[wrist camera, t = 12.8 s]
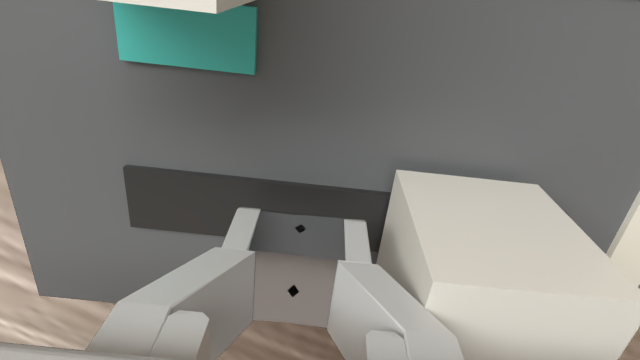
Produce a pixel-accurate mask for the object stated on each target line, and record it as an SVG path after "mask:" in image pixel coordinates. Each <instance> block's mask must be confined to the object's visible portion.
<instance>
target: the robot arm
mask: <svg viewBox="0 0 640 360" xmlns="http://www.w3.org/2000/svg"><path fill="white" fill-rule="evenodd" d="M252 320H256V321H269V322H283V323H293V324H301V325H309V326H316V327H324V328H327V331H328V332H329V334H330V336H331V337H332V339H333V341H334V342H335V344H336V346H337V347H338V349H339V351H340V352H341V354H342V356H343V357H344V359H345V360H464V358H463V355H462V352H461V349H460V346H459V343H458V340H457V337H456V336H455V335H454V334H453V333H451V332H450V331H449V330H448V329H447V328H446V327H445V326H444V325H443V324H442V323H441V322H440V321H439V320H437V319H436V318H435V317H434V316H433V315H432V314H431V313H430V312H429V311H428V310H427V309H426V308H425V307H423V306H422V305H421V304H420V303H419V302H418V301H417V300H416V299H415V298H414V297H413V296H412V295H411V294H410V293H408V292H407V291H406V290H405V289H404V288H403V287H402V286H401V285H400V284H399V283H398V282H397V281H396V280H394V279H393V278H392V277H391V276H390V275H389V274H388V273H387V272H386V271H385V270H384V269H383V268H382V267H380V266H379V265H378V264H372V260H371V253H370V246H369V239H368V232H367V224H366V221H365V220H357V219H343V218H331V217H319V216H307V215H303V214H295V213H287V212H279V211H272V210H264V209H262V210H261V209H257V208H247V207H239V208H238V209H237V211H236V213H235V216H234V218H233V220H232V223H231V225H230V228H229V230H228V233H227V235H226V237H225V240H224V242H223V245H222V247H221V248H220V247H214V248H212V249H210V250H209V251H207V252H205V253H203V254H202V255H200V256H198V257H196V258H194V259H193V260H191V261H189V262H187V263H186V264H184V265H182V266H180V267H178V268H177V269H175V270H173V271H171V272H170V273H168V274H166V275H164V276H162V277H161V278H159V279H157V280H155V281H154V282H152V283H150V284H148V285H146V286H145V287H143V288H141V289H139V290H138V291H136V292H134V293H132V294H130V295H129V296H127V297H125V298H123V299H121V300H120V301H118V302H117V303H116V305H115V306H114V308H113V310H112V311H111V313H110V314H109V316H108V317H107V319H106V320H105V322H104V323H103V325H102V326H101V328H100V329H99V331H98V332H97V334H96V335H95V337H94V338H93V340H92V341H91V343H90V344H89V346H88V347H87V349H86V350H85V351H84V350H74V349H64V348H54V347H44V346H34V345H24V344H14V343H4V342H0V360H216V359H217V358H218V357H219V356H220V355H221V354H222V353H223V352H224V351H225V350H226V349H227V348H228V347H229V346H230V345H231V344H232V343H233V341H234V340H235V339H236V338H237V337H238V336H239V335H240V334H241V333H242V332H243V331H244V330H245V329H246V328H247V327H248V326H249V325H250V324H251V323H252Z"/></svg>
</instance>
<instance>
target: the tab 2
mask: <svg viewBox="0 0 640 360" xmlns="http://www.w3.org/2000/svg"><path fill="white" fill-rule="evenodd" d="M376 264H378V265H379V266H380V267H382V268H383V269H384V270H385V271H386V272H387V273H388V274H389V275H390V276H391V277H392V278H393V279H394V280H396V281H397V282H398V283H399V284H400V285H401V286H402V287H403V288H404V289H405V290H406V291H407V292H408V293H410V294H411V295H412V296H413V297H414V298H415V299H416V300H417V301H418V302H419V303H420V304H421V305H422V306H423V307H425V308H426V309H427V310H428V311H429V312H430V313H431V314H432V315H433V316H434V317H435V318H436V319H437V320H439V321H440V322H441V323H442V324H443V325H444V326H445V327H446V328H447V329H448V330H449V331H450V332H451V333H453V334H454V335H455V336H456V337H457V340H458V343H459V346H460V349H461V352H462V355H463V358H464V360H618V359H619V357H620V356H621V354H622V353H623V351H624V350H625V348H626V347H627V345H628V344H629V342H630V340H631V339H632V337H633V336H634V334H635V333H636V331H637V330H638V328H639V327H640V289H639V288H638V287H637V286H636V285H635V284H634V283H633V282H632V281H631V280H630V279H629V277H628V276H627V275H626V274H625V273H624V272H623V271H622V270H621V269H620V268H619V267H618V266H617V265H616V264H615V263H614V262H613V261H612V260H611V259H610V258H609V257H608V256H607V255H606V254H605V253H604V252H603V251H602V250H601V249H600V248H599V247H598V246H597V245H596V244H595V243H594V242H593V241H592V240H591V239H590V238H589V237H588V235H587V234H586V233H585V232H584V231H583V230H582V229H581V228H580V227H579V226H578V225H577V224H576V223H575V222H574V221H573V220H572V219H571V218H570V217H569V216H568V215H567V214H566V213H565V212H564V211H563V210H562V209H561V208H560V207H559V206H558V205H557V204H556V203H555V202H554V201H553V200H552V199H551V198H550V197H549V196H548V195H547V194H546V192H545V191H544V190H543V189H542V188H541V187H540V186H539V185H537V184H528V183H518V182H509V181H500V180H490V179H481V178H471V177H462V176H453V175H443V174H434V173H425V172H415V171H406V170H396V173H395V178H394V182H393V187H392V192H391V196H390V201H389V206H388V211H387V215H386V220H385V225H384V229H383V234H382V239H381V243H380V248H379V253H378V257H377V262H376Z"/></svg>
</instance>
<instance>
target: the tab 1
mask: <svg viewBox="0 0 640 360" xmlns="http://www.w3.org/2000/svg"><path fill="white" fill-rule="evenodd" d="M101 1H110V2H119V3H127V4H136V5H145V6H153V7H162V8H171V9H180V10H188V11H197V12H206V13H215V14H217V13H220V12H223V11H226V10H229V9H232V8H235V7H238V6H240V5H243V4H246V3H249V2H252V1H255V0H101Z"/></svg>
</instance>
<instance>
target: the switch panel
mask: <svg viewBox="0 0 640 360" xmlns="http://www.w3.org/2000/svg"><path fill="white" fill-rule="evenodd" d="M0 159H1V162H2V166H3V169H4V173H5V176H6V180H7V183H8V187H9V190H10V194H11V197H12V201H13V204H14V208H15V211H16V215H17V218H18V222H19V225H20V229H21V232H22V236H23V240H24V243H25V247H26V250H27V254H28V257H29V261H30V264H31V268H32V271H33V275H34V278H35V282H36V285H37V289H38V292H39V296H49V297H60V298H70V299H80V300H91V301H101V302H111V303H117V302H118V301H120V300H121V299H123V298H125V297H127V296H129V295H130V294H132V293H134V292H136V291H138V290H139V289H141V288H143V287H145V286H146V285H148V284H150V283H152V282H154V281H155V280H157V279H159V278H161V277H162V276H164V275H166V274H168V273H170V272H171V271H173V270H175V269H177V268H178V267H180V266H182V265H184V264H186V263H187V262H189V261H191V260H193V259H194V258H196V257H198V256H200V255H202V254H203V253H205V252H207V251H209V250H210V249H212V248H214V247H220V248H221V247H222V245H223V242H224V240H225V237H226V235H227V233H228V230H229V228H230V225H231V223H232V220H233V218H234V216H235V213H236V211H237V209H238V208H239V207H247V208H257V209H261V210H262V209H264V210H272V211H279V212H287V213H295V214H303V215H307V216H319V217H331V218H343V219H357V220H365V221H366V224H367V232H368V239H369V246H370V253H371V260H372V264H376V262H377V257H378V253H379V248H380V243H381V239H382V234H383V229H384V225H385V220H386V215H387V211H388V206H389V201H390V196H391V192H392V187H393V182H394V178H395V173H396V170H406V171H415V172H425V173H434V174H443V175H453V176H462V177H471V178H481V179H490V180H500V181H509V182H518V183H528V184H537V185H539V186H540V187H541V188H542V189H543V190H544V191H545V192H546V194H547V195H548V196H549V197H550V198H551V199H552V200H553V201H554V202H555V203H556V204H557V205H558V206H559V207H560V208H561V209H562V210H563V211H564V212H565V213H566V214H567V215H568V216H569V217H570V218H571V219H572V220H573V221H574V222H575V223H576V224H577V225H578V226H579V227H580V228H581V229H582V230H583V231H584V232H585V233H586V234H587V235H588V237H589V238H590V239H591V240H592V241H593V242H594V243H595V244H596V245H597V246H598V247H599V248H600V249H601V250H602V251H603V252H604V253H605V254H606V255H607V256H608V257H609V258H610V259H611V260H612V261H613V262H614V263H615V264H616V265H617V266H618V267H619V268H620V269H621V270H622V271H623V272H624V273H625V274H626V275H627V276H628V277H629V279H630V280H631V281H632V282H633V283H634V284H635V285H636V286H637V287H638V288H639V289H640V0H255V1H252V2H249V3H246V4H243V5H240V6H238V7H235V8H232V9H229V10H226V11H223V12H220V13H217V14H215V13H206V12H197V11H188V10H180V9H171V8H162V7H153V6H145V5H136V4H127V3H119V2H110V1H101V0H0Z"/></svg>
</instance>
